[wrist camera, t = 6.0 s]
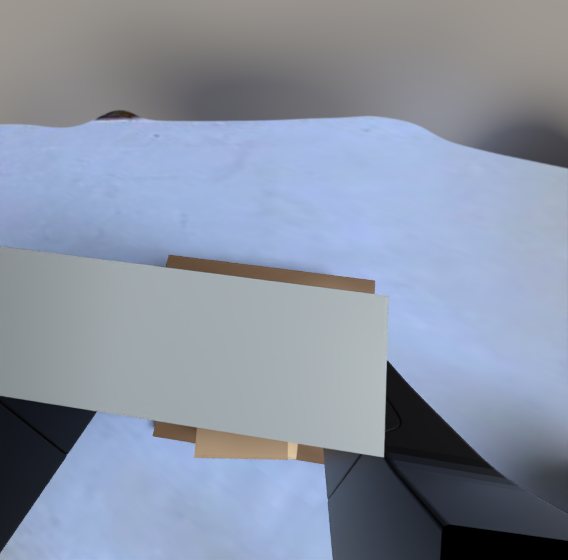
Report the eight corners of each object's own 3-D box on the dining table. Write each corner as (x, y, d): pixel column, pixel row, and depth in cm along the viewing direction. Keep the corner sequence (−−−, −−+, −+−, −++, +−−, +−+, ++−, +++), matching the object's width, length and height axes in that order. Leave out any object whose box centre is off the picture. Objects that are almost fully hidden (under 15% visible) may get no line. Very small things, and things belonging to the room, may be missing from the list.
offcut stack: (295, 449, 17) (296, 474, 14) (202, 434, 17) (185, 456, 14) (303, 369, 18) (306, 378, 15) (217, 357, 19) (204, 363, 16)
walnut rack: (343, 459, 18) (364, 511, 13) (159, 430, 18) (113, 468, 14) (354, 291, 21) (375, 280, 16) (196, 270, 21) (168, 254, 17)
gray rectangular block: (301, 344, 14) (383, 457, 2) (214, 332, 15) (-170, 368, 2) (303, 320, 15) (388, 295, 2) (219, 309, 15) (-95, 234, 3)
